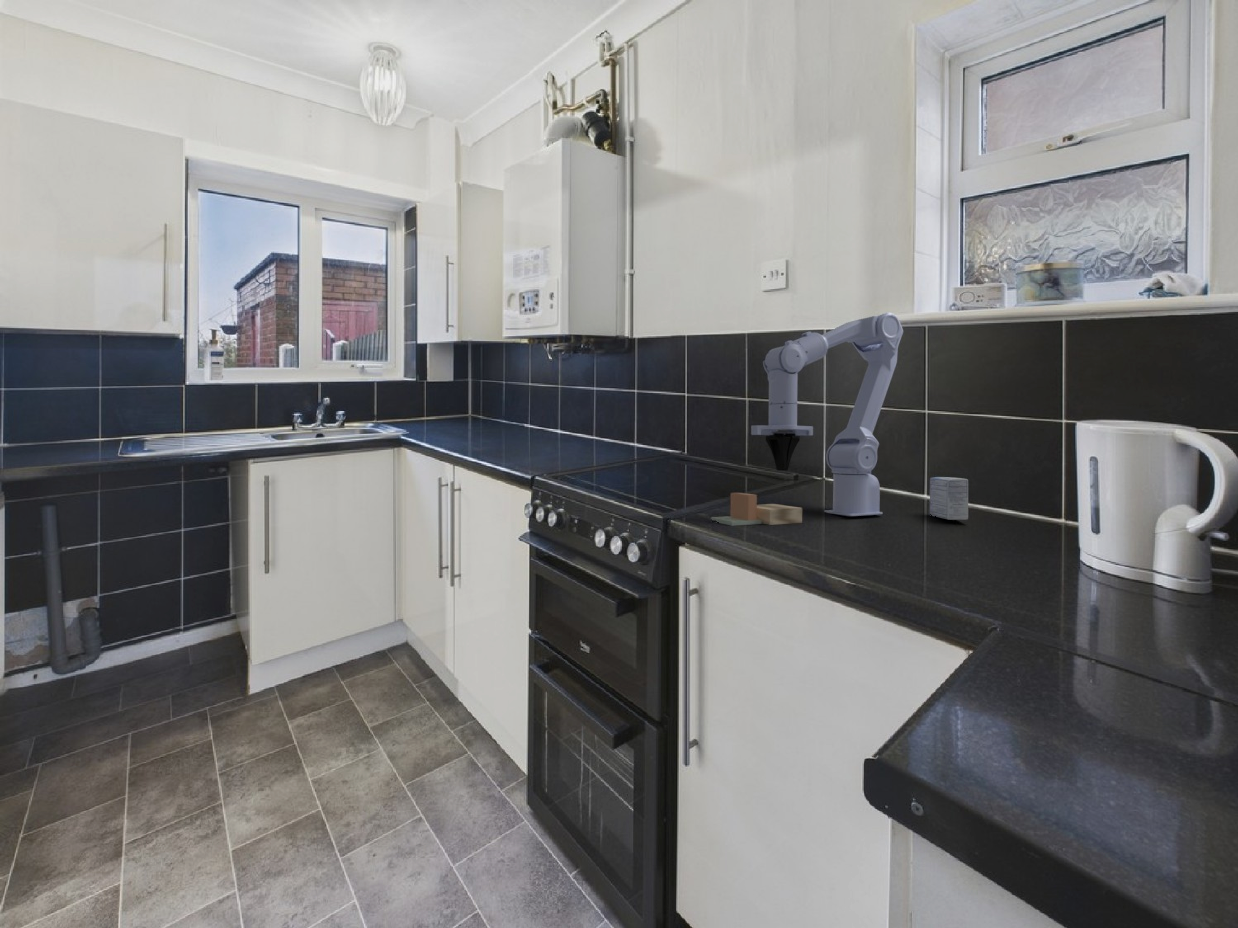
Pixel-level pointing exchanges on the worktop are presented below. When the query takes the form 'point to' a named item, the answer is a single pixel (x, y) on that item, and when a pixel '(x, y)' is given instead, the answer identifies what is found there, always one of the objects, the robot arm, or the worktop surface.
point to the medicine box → (949, 498)
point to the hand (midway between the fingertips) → (782, 470)
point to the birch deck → (778, 514)
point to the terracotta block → (743, 506)
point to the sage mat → (735, 521)
